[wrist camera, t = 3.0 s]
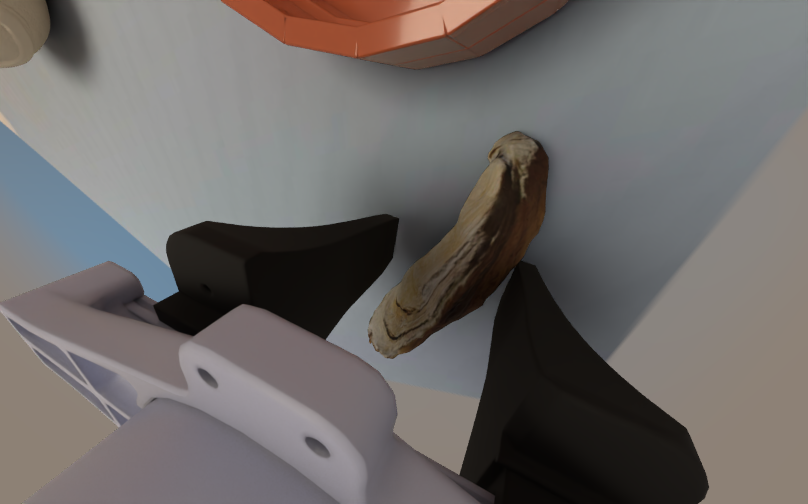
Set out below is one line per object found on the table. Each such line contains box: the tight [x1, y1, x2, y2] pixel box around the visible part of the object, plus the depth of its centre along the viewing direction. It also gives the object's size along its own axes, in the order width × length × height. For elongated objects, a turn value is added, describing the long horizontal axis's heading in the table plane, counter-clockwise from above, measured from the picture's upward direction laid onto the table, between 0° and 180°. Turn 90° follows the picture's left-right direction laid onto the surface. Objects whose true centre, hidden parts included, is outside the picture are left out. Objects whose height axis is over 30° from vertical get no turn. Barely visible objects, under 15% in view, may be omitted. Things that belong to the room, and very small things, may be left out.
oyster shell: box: [368, 131, 549, 359], centre depth 12 cm, size 6×4×10 cm
